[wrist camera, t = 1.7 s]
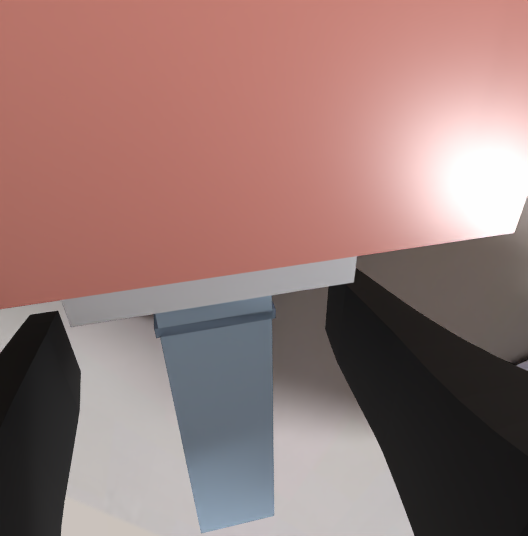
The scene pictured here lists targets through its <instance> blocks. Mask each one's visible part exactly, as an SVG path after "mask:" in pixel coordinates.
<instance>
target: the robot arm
mask: <svg viewBox="0 0 528 536" xmlns="http://www.w3.org/2000/svg"><path fill="white" fill-rule="evenodd" d="M325 329H326V332H327V335H328V338H329V341H330V344H331V347H332V349H333V352H334V355H335V357H336V360H337V363H338V365H339V367H340V369H341V371H342V373H343V375H344V377H345V379H346V381H347V382H348V384H349V386H350V388H351V390H352V392H353V394H354V396H355V398H356V400H357V402H358V404H359V406H360V408H361V410H362V411H363V413H364V415H365V417H366V419H367V421H368V423H369V425H370V427H371V429H372V431H373V433H374V435H375V437H376V439H377V441H378V443H379V445H380V447H381V450H382V452H383V454H384V457H385V459H386V462H387V464H388V467H389V469H390V472H391V474H392V477H393V479H394V482H395V484H396V487H397V490H398V492H399V495H400V498H401V500H402V503H403V506H404V508H405V511H406V514H407V516H408V519H409V522H410V524H411V527H412V530H413V533H414V536H528V360H527V361H525V362H523V363H520V364H518V365H513V364H511V363H509V362H507V361H505V360H503V359H500V358H498V357H496V356H494V355H492V354H490V353H488V352H487V351H485V350H483V349H481V348H479V347H477V346H475V345H473V344H471V343H469V342H467V341H465V340H464V339H462V338H460V337H458V336H456V335H455V334H453V333H451V332H450V331H448V330H446V329H445V328H443V327H442V326H440V325H438V324H437V323H435V322H433V321H432V320H430V319H429V318H427V317H425V316H424V315H422V314H421V313H419V312H418V311H416V310H415V309H413V308H412V307H410V306H409V305H407V304H406V303H404V302H403V301H402V300H400V299H399V298H397V297H396V296H394V295H393V294H392V293H390V292H389V291H387V290H386V289H385V288H383V287H382V286H380V285H379V284H378V283H376V282H375V281H373V280H372V279H371V278H369V277H368V276H367V275H365V274H364V273H362V272H361V271H359V270H358V269H357V268H355V277H354V282H353V283H347V284H340V285H334V286H329V289H328V301H327V313H326V326H325ZM80 380H81V371H80V368H79V366H78V363H77V360H76V357H75V355H74V352H73V349H72V347H71V344H70V341H69V339H68V336H67V333H66V331H65V328H64V325H63V323H62V320H61V317H60V315H59V312H58V311H53V312H46V313H40V314H33V315H30V316H29V317H28V318H27V319H26V321H25V322H24V323H23V324H22V326H21V327H20V328H19V329H18V331H17V332H16V333H15V335H14V336H13V337H12V339H11V340H10V341H9V342H8V344H7V345H6V346H5V348H4V349H3V350H2V352H1V353H0V536H61V524H62V517H63V508H64V500H65V495H66V489H67V484H68V478H69V472H70V466H71V460H72V454H73V448H74V442H75V436H76V430H77V424H78V417H79V410H80Z"/></svg>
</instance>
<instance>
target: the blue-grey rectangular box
mask: <svg viewBox="0 0 528 536" xmlns="http://www.w3.org/2000/svg"><path fill="white" fill-rule="evenodd" d="M274 318H276V309H275V307H274V304H273V301H272V295H271V296H265V297H258V298H252V299H246V300H239V301H233V302H227V303H220V304H214V305H208V306H202V307H195V308H189V309H183V310H176V311H170V312H164V313H157V314H154V330H155V334H156V338H160V339H161V344H162V348H163V353H164V358H165V363H166V368H167V372H168V377H169V382H170V387H171V391H172V396H173V401H174V406H175V411H176V415H177V420H178V425H179V430H180V434H181V439H182V444H183V449H184V453H185V458H186V463H187V468H188V473H189V477H190V482H191V487H192V492H193V496H194V501H195V506H196V511H197V516H198V520H199V525H200V530H201V533H205V532H209V531H213V530H217V529H221V528H226V527H230V526H234V525H238V524H242V523H246V522H250V521H254V520H259V519H263V518H267V517H271V516H274V459H273V367H272V319H274Z"/></svg>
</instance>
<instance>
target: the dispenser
mask: <svg viewBox="0 0 528 536" xmlns="http://www.w3.org/2000/svg"><path fill="white" fill-rule="evenodd" d="M527 195H528V0H0V309H4V308H11V307H18V306H25V305H31V304H38V303H45V302H52V301H58V300H61V301H62V304H63V306H64V309H65V312H66V315H67V317H68V320H69V323H70V326H71V327H75V326H82V325H88V324H94V323H101V322H107V321H113V320H119V319H126V318H132V317H138V316H145V315H151V314H157V313H164V312H170V311H176V310H183V309H189V308H195V307H202V306H208V305H214V304H220V303H227V302H233V301H239V300H246V299H252V298H258V297H265V296H271V295H277V294H284V293H290V292H296V291H303V290H309V289H315V288H321V287H328V286H334V285H340V284H347V283H353V282H354V277H355V268H356V260H357V256H362V255H369V254H375V253H382V252H389V251H396V250H402V249H409V248H416V247H422V246H429V245H436V244H443V243H449V242H456V241H463V240H470V239H476V238H483V237H490V236H497V235H503V234H510V233H514V232H515V229H516V227H517V224H518V221H519V218H520V215H521V212H522V210H523V207H524V204H525V201H526V198H527Z"/></svg>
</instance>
